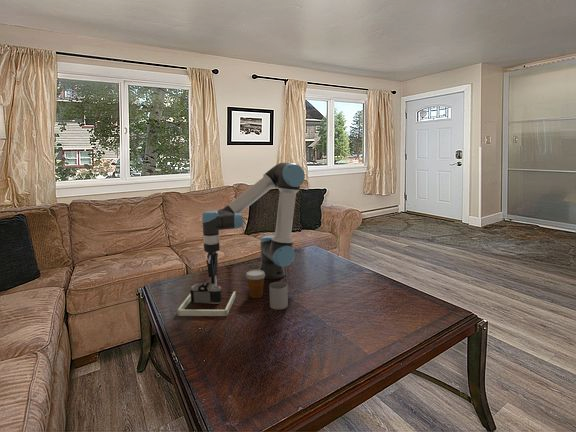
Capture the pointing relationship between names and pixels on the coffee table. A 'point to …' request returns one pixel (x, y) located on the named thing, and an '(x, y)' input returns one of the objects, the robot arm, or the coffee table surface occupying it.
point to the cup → (278, 295)
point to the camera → (206, 293)
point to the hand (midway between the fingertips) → (213, 288)
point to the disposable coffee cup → (255, 283)
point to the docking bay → (190, 312)
